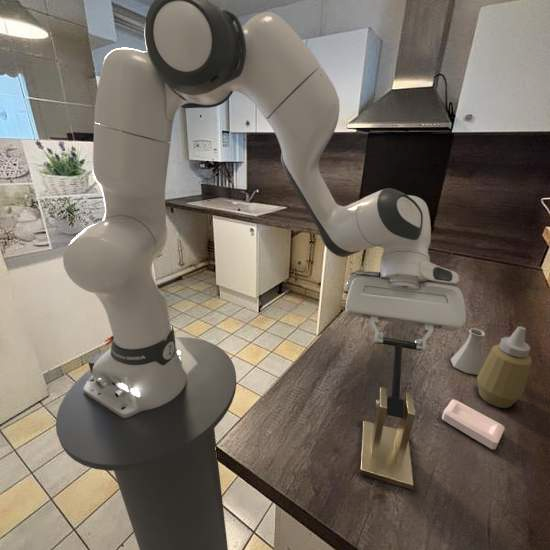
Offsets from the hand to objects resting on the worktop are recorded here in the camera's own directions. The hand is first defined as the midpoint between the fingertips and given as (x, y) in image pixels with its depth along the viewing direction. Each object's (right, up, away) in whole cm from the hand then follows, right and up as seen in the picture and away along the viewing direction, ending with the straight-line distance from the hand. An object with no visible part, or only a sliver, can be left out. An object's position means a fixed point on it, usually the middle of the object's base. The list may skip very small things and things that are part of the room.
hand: (398, 346), depth 52 cm
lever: (-1, -5, -1) cm, 5 cm away
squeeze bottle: (+26, -14, +12) cm, 32 cm away
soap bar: (+16, -17, +5) cm, 24 cm away
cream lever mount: (-3, -19, 0) cm, 19 cm away
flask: (+26, -10, +21) cm, 35 cm away
